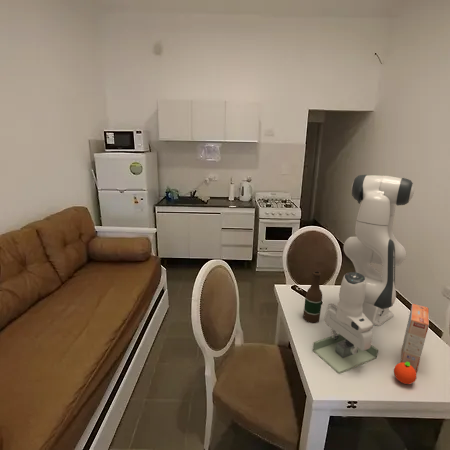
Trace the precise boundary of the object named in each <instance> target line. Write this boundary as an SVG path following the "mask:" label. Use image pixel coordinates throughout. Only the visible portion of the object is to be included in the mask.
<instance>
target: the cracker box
mask: <svg viewBox="0 0 450 450" xmlns="http://www.w3.org/2000/svg"><path fill="white" fill-rule="evenodd" d="M429 315H430V313H429V307H427V306H423V305H419V304H415V303H412V304H411V307H410V312H409V316H408V320H407V324H406V329H405V334H404V337H403V341H402V345H401V351H400V352H401V353H400V362H399V363H402V362H403V363H406V362H410V365H411V366H412V367H413V368H414V369H415V371H416V374H417V372H418V368H419V366H420V361H421V357H422V354H423V349H424V345H425V342H426V338H427V334H428V330H429V326H430V323H429V321H430V316H429Z"/></svg>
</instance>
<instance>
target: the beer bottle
mask: <svg viewBox="0 0 450 450" xmlns="http://www.w3.org/2000/svg"><path fill="white" fill-rule="evenodd" d="M321 276H322V275H321V272H320V271H318V270H315V271H313V272H312V279H311V285H310V286H309V288H308V289H307V291H306V293H305V297H304V307H303V320H305V322H307V323H312V324H316V323H319V321H320V317H321V310H322V304H323V303H322V302H323V291H322V290H321V288H320V284H321V283H320V281H321Z"/></svg>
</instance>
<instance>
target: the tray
mask: <svg viewBox="0 0 450 450" xmlns="http://www.w3.org/2000/svg"><path fill="white" fill-rule="evenodd" d="M337 335H338V339H337V340H334V339H333V338H332V335H331V336H327V337H325V338H322V339H319V340H315V341H313V344H312V345H313V347H312V352H314V353H315V354H316V355H317V356H318V357H320V359H321V360H323V362H325V363H326V364H327V365H328V366H329V367H331V369H333V370H334V371H335V372H336V373H337V374H338V375H340V374H342V373H344V372H347V371H349V370H352V369H355V368H356V367H359V366H362V365H364V364H366V363H369V362H371V361H374V360H376V359H377V358H378V354H379V349H378V348H376V346H374V345H372V344H371V347H370V348H369V349H367V350H364V351H362V350H360V349H358V353H356V354H353V355H350V356H348V357H345V358H342V357H341V356H339V355H338V354H337V353H336V352H335V350H336V343H339V342H342V341H345V340H346V338H344V337H343V336H342V335H340V334H339V333H337Z"/></svg>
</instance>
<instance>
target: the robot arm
mask: <svg viewBox="0 0 450 450" xmlns="http://www.w3.org/2000/svg"><path fill="white" fill-rule="evenodd" d="M350 190H351V196H352V197H353V199H354V200H355V201H356V202H357V203H358V204H360V206H359V208H358V213H357V216H356V221H355V228H354V233H355V236H349V237H347V238H346V239H345V241H344V243H343V252H344V254H345V256H346V257H347V258H348V259H349V260H350V261H351V262H352V265H353V267H354V270H355V271H351V272H347V273H345V274H344V275H343V277H342V280H341V284H340V287H339V293H338V294H339V295H338V297H339V300H338V302H337V306H336V305H335V304H334V303H329V304H328V305H327V308H326V312H325V316H324V323H325V324H326V325H327V326H328V327H329V328H330V331H331V336H332V338H333V339H334V340H337V339H338V335H337V334H340V335H342V336H343V337H344V338H346V339H347V340H348V341H350V342H351V343H352V344H354V348H351V351H350V352H351V353H352V354H356V353H357V350H358V349H360V350H362V351H364V350H367V349H369V348H370V347H371V345H372V342H373V331H372V330H371V329H373V326H377V327H379V326H381V325H383V324H384V323H386V322H388V320H390V319H392V318H393V317H394V313H393V312H392V311H391V310H390V308H391V307H393V306H394V304H395V302H396V299H397V292H396V267H399V266H401V265H402V264H403V263H404V262H405V260H406V259H407V251H406V248H405V247H404V246H403V244H401V243H400V241H398V240H397V238H396V237H395V236H396V235H394V230H393V226H394V220H395V219H394V218H395V213H396V206H405V205H407V204H409V203H410V201H411V200H412V198H413V196H414V192H415V188H414V182H413V181H412V180H411V179H409V178H407V177H406V178H405V177H396V176H391V175H375V174H373V175H367V174H359V175H356V177H355V178H354V179H353V182H352V183H351V189H350ZM371 263H373V264H377V265H382V266H381V268H382V269H381V273H380V271H379V270H377V269H376V268H374V267H373V266H372V264H371Z"/></svg>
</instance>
